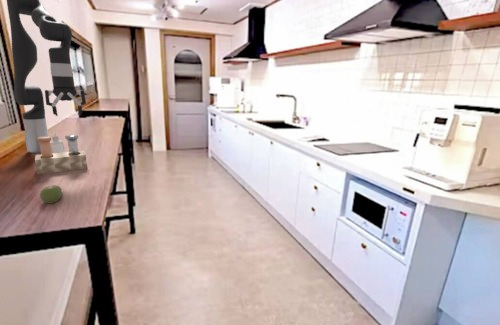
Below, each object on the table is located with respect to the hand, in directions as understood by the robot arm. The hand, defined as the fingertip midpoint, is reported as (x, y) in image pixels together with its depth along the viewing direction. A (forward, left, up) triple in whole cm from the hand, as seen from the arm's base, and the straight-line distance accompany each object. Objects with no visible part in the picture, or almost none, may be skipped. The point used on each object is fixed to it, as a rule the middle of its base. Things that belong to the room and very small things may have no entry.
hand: (68, 115), depth 122 cm
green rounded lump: (+12, -35, -23) cm, 44 cm away
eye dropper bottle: (-16, +14, -23) cm, 32 cm away
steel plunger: (0, 0, -19) cm, 19 cm away
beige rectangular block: (-4, -3, -23) cm, 23 cm away
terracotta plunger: (-8, -5, -19) cm, 21 cm away
